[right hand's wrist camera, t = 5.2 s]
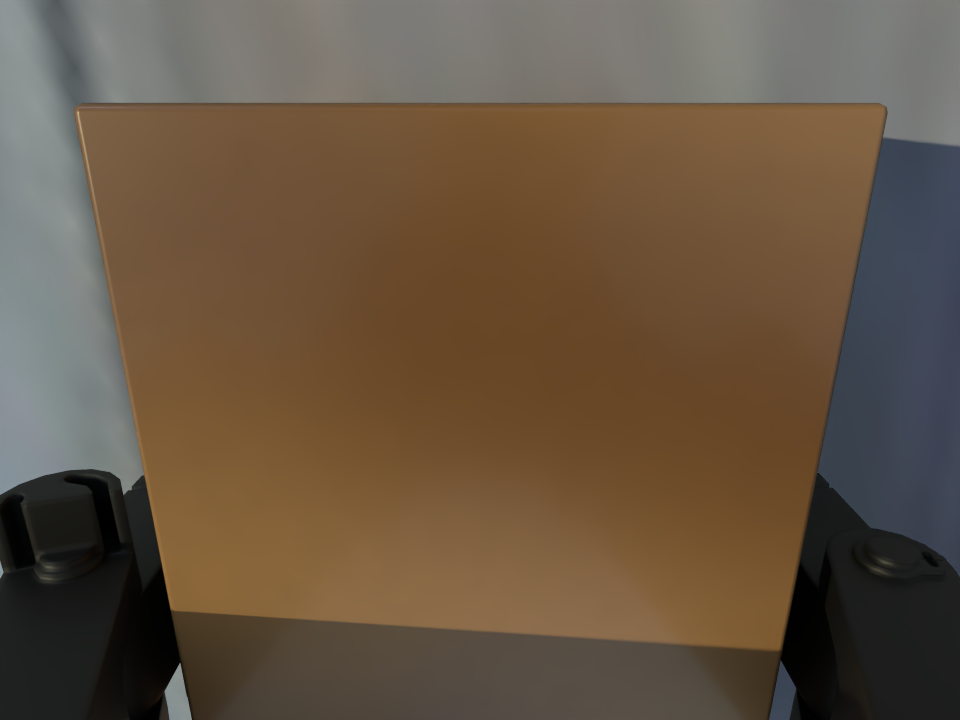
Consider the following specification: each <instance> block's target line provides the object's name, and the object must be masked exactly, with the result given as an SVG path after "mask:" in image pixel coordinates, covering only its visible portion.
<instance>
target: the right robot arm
mask: <svg viewBox="0 0 960 720" xmlns="http://www.w3.org/2000/svg"><path fill="white" fill-rule="evenodd" d="M0 561H1V565H2V568H3V572H4V573H3V575H2V577H1V578H0V720H169V714H168V706H167V702H166V697H165V692H164V691H165V689H166V687H167V686H168V684H169V682H170V680H171V678H172V676H173V675H174V673H175V671H176V669H177V667H178V665H179V664H180V663H181V660H180V655H179V650H178V645H177V640H176V634H175V629H174V624H173V619H172V614H171V609H170V604H169V598H168V593H167V588H166V583H165V578H164V573H163V568H162V562H161V557H160V552H159V547H158V542H157V537H156V532H155V526H154V521H153V516H152V511H151V506H150V501H149V495H148V490H147V485H146V480H145V476H141V477H140V478H139V480H138V481H137V482H136V483H135V484H134V485H133V486H132V490H128V491H127V492H126V493H125V495H124V496H123V491H122V487H121V482H120V479H119V478H117V477H116V476H115V475H113V474H112V473H110V472H105V471H100V470H94V469H87V470H69V471H64V472H59V473H55V474H50V475H45V476H42V477H39V478H36V479H33V480H31V481H28V482H25V483H22V484H19V485H18V486H16V487H14V488H12V489H10V490H9V491H7V492H5V493H3V494H1V495H0ZM781 661H782V663H783V665H784V667H785V668H786V670H787V672H788V674H789V676H790V677H791V679H792V681H793V683H794V685H795V687H796V692H795V697H794V702H793V706H792V711H791V716H790V720H960V577H959V575H958V574H957V572H956V571H955V569H954V568H953V567H952V566H951V565H950V564H949V563H948V561H947V560H946V559H945V558H944V557H943V556H941V555H939V554H938V553H936V552H935V551H933V550H932V549H930V548H929V547H927V546H926V545H924V544H922V543H919V542H917V541H915V540H912V539H910V538H908V537H905V536H903V535H900V534H896V533H892V532H888V531H884V530H880V529H872V528H870V527H869V526H868V525H867V524H866V523H865V522H864V521H863V520H862V519H861V517H860V516H859V515H858V514H857V513H856V512H855V511H854V510H853V509H852V508H851V507H850V506H849V505H848V504H847V503H846V502H845V501H844V499H843V498H842V497H841V496H840V495H839V494H838V493H837V492H836V491H835V490H834V489H833V488H829V484H828V482H827V481H826V480H825V479H824V478H823V477H822V476H821V475H820V474H819V473H817V476H816V481H815V486H814V492H813V497H812V502H811V507H810V512H809V517H808V522H807V527H806V533H805V538H804V543H803V548H802V553H801V558H800V563H799V568H798V573H797V579H796V584H795V589H794V594H793V599H792V604H791V609H790V614H789V619H788V625H787V630H786V635H785V640H784V645H783V650H782V655H781ZM181 668H182V665H181ZM182 673H183V670H182ZM183 678H184V676H183ZM184 684H185V681H184ZM185 689H186V686H185ZM186 694H187V691H186ZM187 697H188V696H187Z"/></svg>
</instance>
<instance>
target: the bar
mask: <svg viewBox="0 0 960 720" xmlns="http://www.w3.org/2000/svg"><path fill="white" fill-rule="evenodd" d="M74 115H75V120H76V125H77V130H78V135H79V141H80V146H81V151H82V156H83V161H84V166H85V171H86V177H87V182H88V187H89V192H90V197H91V202H92V207H93V213H94V218H95V223H96V228H97V233H98V238H99V243H100V249H101V254H102V259H103V264H104V269H105V274H106V279H107V285H108V290H109V295H110V300H111V305H112V310H113V315H114V321H115V326H116V331H117V336H118V341H119V346H120V351H121V357H122V362H123V367H124V372H125V377H126V382H127V387H128V393H129V398H130V403H131V408H132V413H133V418H134V423H135V429H136V434H137V439H138V444H139V449H140V454H141V459H142V465H143V470H144V475H145V480H146V485H147V490H148V495H149V501H150V506H151V511H152V516H153V521H154V526H155V532H156V537H157V542H158V547H159V552H160V557H161V562H162V568H163V573H164V578H165V583H166V588H167V593H168V598H169V604H170V609H171V614H172V619H173V624H174V629H175V634H176V640H177V645H178V650H179V655H180V660H181V665H182V670H183V676H184V681H185V686H186V691H187V696H188V701H189V706H190V712H191V717H192V720H769V717H770V712H771V706H772V701H773V696H774V691H775V686H776V681H777V676H778V671H779V666H780V660H781V655H782V650H783V645H784V640H785V635H786V630H787V625H788V619H789V614H790V609H791V604H792V599H793V594H794V589H795V584H796V579H797V573H798V568H799V563H800V558H801V553H802V548H803V543H804V538H805V533H806V527H807V522H808V517H809V512H810V507H811V502H812V497H813V492H814V486H815V481H816V476H817V471H818V466H819V461H820V456H821V451H822V446H823V440H824V435H825V430H826V425H827V420H828V415H829V410H830V405H831V400H832V394H833V389H834V384H835V379H836V374H837V369H838V364H839V359H840V354H841V348H842V343H843V338H844V333H845V328H846V323H847V318H848V313H849V307H850V302H851V297H852V292H853V287H854V282H855V277H856V272H857V267H858V261H859V256H860V251H861V246H862V241H863V236H864V231H865V226H866V221H867V215H868V210H869V205H870V200H871V195H872V190H873V185H874V180H875V174H876V169H877V164H878V159H879V154H880V149H881V144H882V139H883V134H884V128H885V123H886V118H887V107H886V106H884V105H882V104H880V103H82V104H80V105H78V106H76V107H75V111H74Z"/></svg>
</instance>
